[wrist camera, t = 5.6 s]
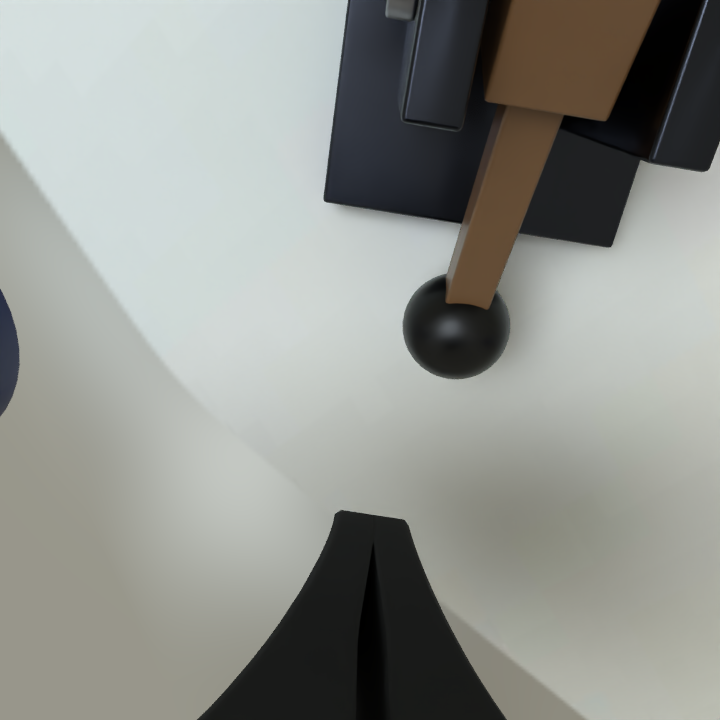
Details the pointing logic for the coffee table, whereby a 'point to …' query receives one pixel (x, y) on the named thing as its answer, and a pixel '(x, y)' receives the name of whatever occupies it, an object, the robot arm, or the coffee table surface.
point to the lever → (519, 159)
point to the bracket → (475, 115)
